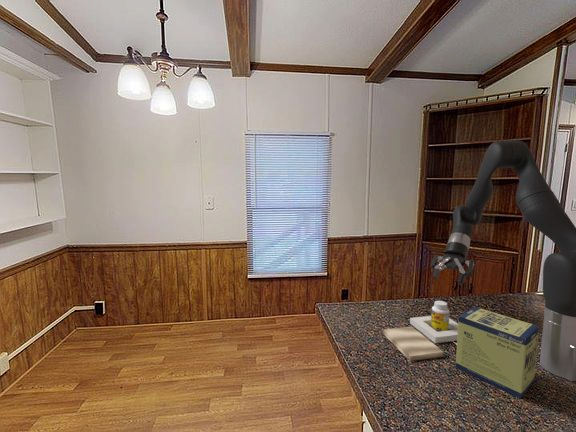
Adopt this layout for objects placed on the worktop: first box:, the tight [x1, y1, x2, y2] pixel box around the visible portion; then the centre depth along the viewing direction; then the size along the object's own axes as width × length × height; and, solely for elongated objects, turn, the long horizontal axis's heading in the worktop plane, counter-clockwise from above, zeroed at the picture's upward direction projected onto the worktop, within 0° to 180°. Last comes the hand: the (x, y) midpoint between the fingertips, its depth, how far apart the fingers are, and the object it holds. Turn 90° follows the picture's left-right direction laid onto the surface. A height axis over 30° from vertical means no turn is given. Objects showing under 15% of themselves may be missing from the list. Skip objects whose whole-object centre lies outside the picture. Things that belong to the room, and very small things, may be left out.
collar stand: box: [409, 315, 458, 344], centre depth 103 cm, size 14×14×2 cm
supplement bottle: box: [430, 300, 451, 332], centre depth 103 cm, size 6×6×10 cm
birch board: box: [382, 325, 444, 362], centre depth 95 cm, size 16×11×2 cm
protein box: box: [454, 306, 540, 400], centre depth 79 cm, size 10×16×16 cm
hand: (447, 281), depth 110 cm, fingers open, 8 cm apart
